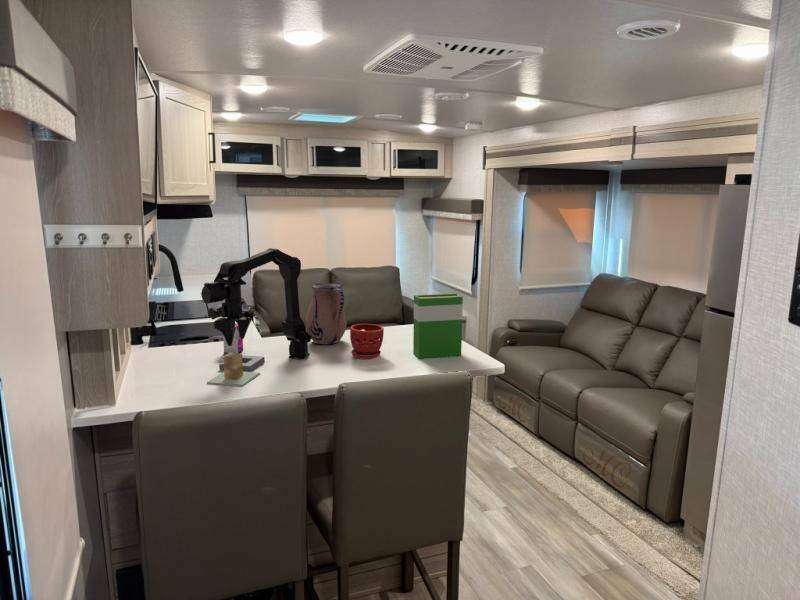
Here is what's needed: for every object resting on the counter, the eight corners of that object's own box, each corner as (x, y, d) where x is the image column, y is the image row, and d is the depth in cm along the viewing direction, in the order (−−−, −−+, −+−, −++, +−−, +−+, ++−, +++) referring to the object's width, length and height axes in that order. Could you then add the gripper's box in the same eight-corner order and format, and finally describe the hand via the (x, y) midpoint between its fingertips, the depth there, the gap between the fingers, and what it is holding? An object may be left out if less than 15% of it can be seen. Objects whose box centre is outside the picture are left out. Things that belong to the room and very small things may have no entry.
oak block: (243, 375, 190) (241, 353, 188) (236, 379, 185) (235, 357, 184) (231, 374, 190) (229, 352, 189) (224, 378, 186) (223, 356, 185)
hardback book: (454, 351, 223) (456, 293, 218) (461, 356, 216) (462, 296, 211) (413, 354, 218) (413, 295, 214) (418, 359, 211) (419, 298, 207)
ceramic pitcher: (327, 334, 248) (326, 280, 243) (361, 342, 235) (360, 285, 230) (297, 342, 235) (295, 285, 230) (331, 351, 222) (330, 290, 217)
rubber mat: (259, 374, 193) (259, 372, 193) (242, 386, 180) (242, 384, 180) (226, 371, 196) (226, 370, 195) (206, 383, 183) (206, 382, 183)
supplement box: (237, 354, 217) (235, 326, 214) (223, 353, 218) (221, 325, 216) (244, 350, 222) (242, 323, 220) (230, 349, 223) (229, 322, 221)
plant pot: (363, 363, 206) (363, 332, 204) (344, 355, 216) (343, 326, 214) (390, 356, 215) (390, 327, 212) (370, 349, 224) (370, 321, 222)
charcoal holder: (264, 362, 207) (264, 356, 206) (250, 372, 195) (249, 366, 195) (235, 360, 209) (235, 354, 209) (219, 369, 198) (219, 364, 197)
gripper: (224, 293, 199) (227, 334, 202) (197, 303, 181) (201, 348, 184) (253, 293, 197) (255, 335, 200) (228, 304, 179) (231, 350, 182)
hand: (236, 342), depth 191 cm, fingers open, 9 cm apart
